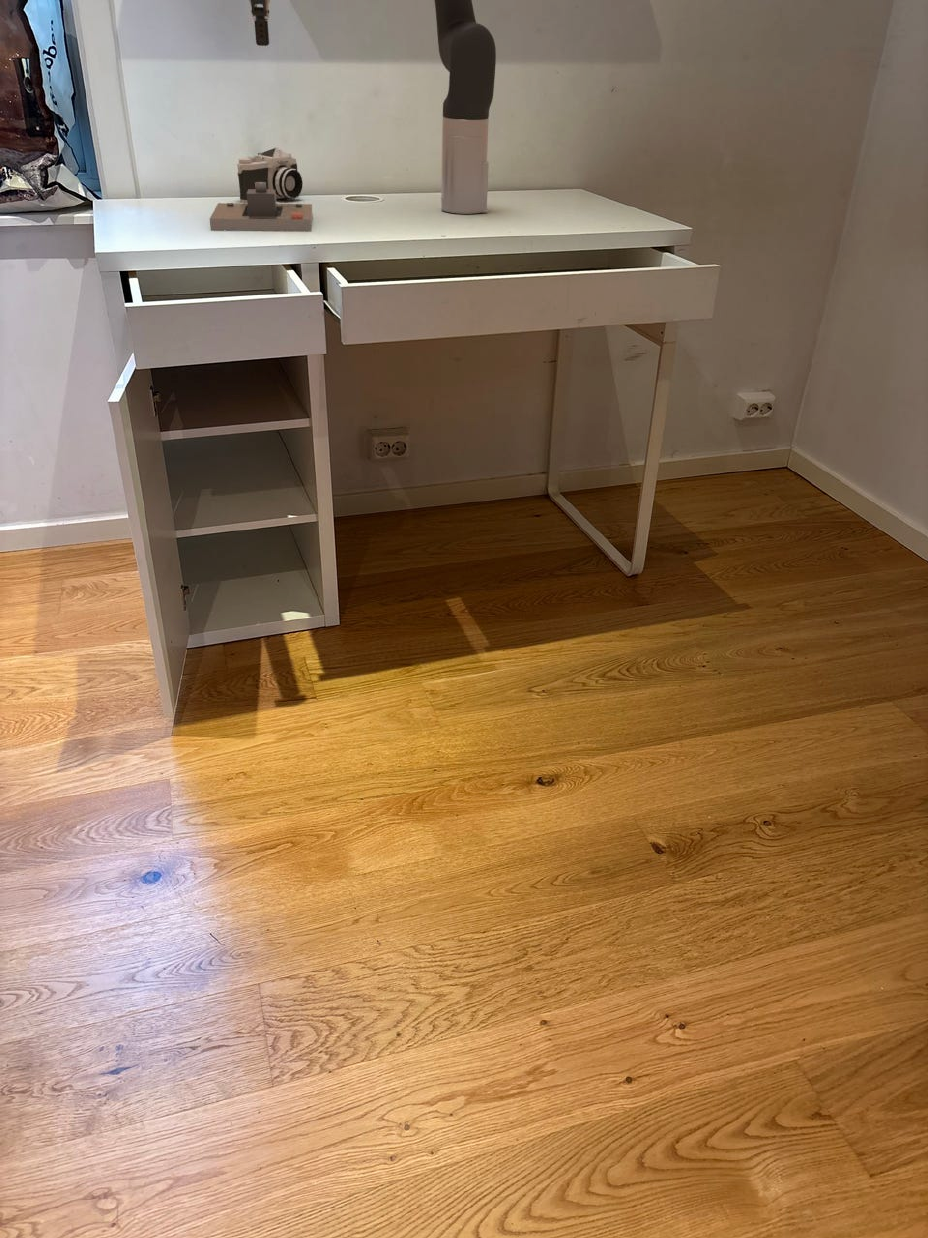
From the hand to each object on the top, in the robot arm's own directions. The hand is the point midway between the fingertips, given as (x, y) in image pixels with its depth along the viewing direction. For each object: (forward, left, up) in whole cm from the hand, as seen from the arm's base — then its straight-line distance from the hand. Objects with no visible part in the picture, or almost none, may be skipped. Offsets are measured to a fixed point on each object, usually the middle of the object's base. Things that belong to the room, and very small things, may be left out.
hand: (262, 45), depth 166 cm
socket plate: (+2, +5, -29) cm, 29 cm away
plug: (+2, +5, -29) cm, 30 cm away
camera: (+1, -23, -29) cm, 37 cm away
